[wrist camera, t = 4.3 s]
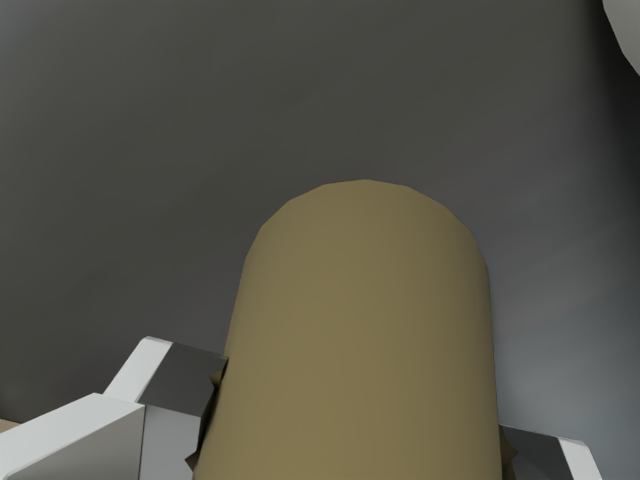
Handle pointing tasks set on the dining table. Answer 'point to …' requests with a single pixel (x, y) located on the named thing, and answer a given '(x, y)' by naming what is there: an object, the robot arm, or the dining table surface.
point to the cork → (358, 346)
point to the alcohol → (626, 27)
